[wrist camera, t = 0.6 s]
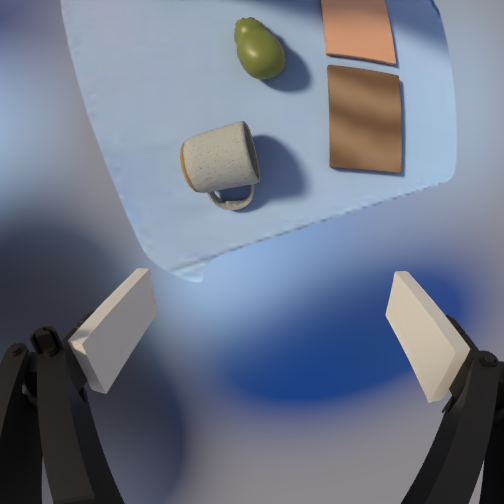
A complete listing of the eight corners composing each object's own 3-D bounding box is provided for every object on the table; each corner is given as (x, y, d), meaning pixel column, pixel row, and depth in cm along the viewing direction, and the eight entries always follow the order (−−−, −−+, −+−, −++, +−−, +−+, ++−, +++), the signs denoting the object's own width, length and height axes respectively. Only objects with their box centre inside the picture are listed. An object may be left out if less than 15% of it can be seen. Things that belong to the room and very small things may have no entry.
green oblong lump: (245, 74, 26) (220, 18, 25) (252, 90, 31) (229, 37, 30) (292, 59, 25) (262, 5, 23) (293, 77, 30) (266, 25, 29)
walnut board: (327, 67, 29) (328, 64, 28) (395, 77, 28) (398, 75, 27) (329, 166, 34) (331, 167, 33) (397, 172, 33) (400, 172, 32)
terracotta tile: (317, -18, 24) (318, -20, 23) (380, -7, 23) (382, -9, 22) (326, 54, 28) (327, 52, 28) (393, 65, 28) (396, 63, 27)
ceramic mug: (190, 140, 34) (169, 139, 27) (249, 123, 33) (242, 116, 26) (211, 214, 38) (196, 230, 31) (268, 200, 36) (267, 213, 29)
